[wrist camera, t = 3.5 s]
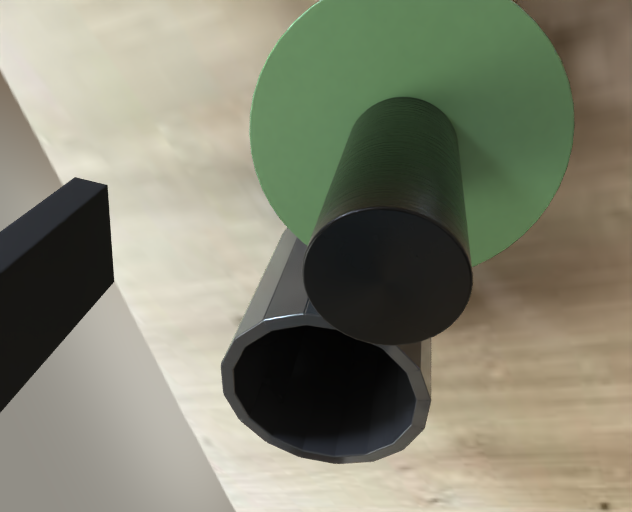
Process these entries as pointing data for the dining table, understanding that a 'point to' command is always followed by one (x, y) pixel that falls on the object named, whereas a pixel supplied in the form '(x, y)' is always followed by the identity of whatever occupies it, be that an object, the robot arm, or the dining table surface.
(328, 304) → the lid
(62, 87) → the dining table surface
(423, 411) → the cup
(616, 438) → the dining table surface
